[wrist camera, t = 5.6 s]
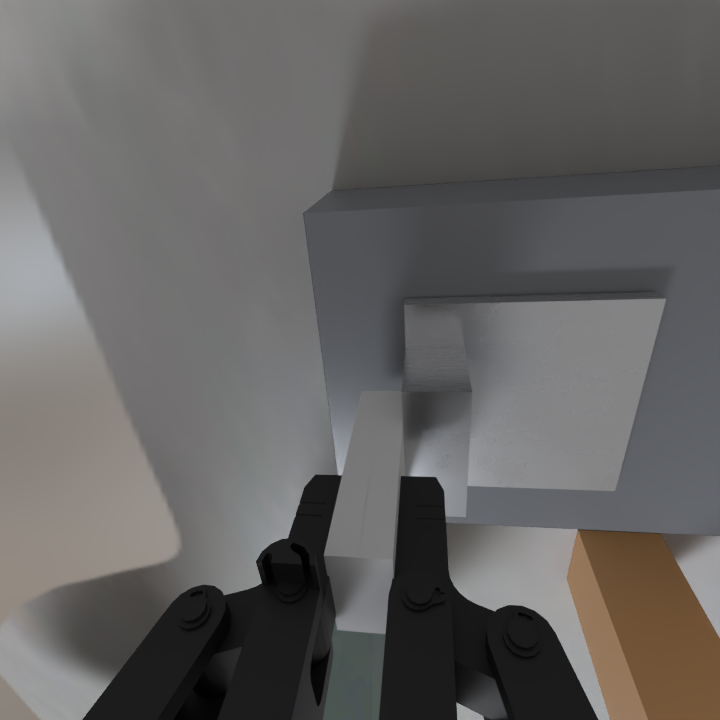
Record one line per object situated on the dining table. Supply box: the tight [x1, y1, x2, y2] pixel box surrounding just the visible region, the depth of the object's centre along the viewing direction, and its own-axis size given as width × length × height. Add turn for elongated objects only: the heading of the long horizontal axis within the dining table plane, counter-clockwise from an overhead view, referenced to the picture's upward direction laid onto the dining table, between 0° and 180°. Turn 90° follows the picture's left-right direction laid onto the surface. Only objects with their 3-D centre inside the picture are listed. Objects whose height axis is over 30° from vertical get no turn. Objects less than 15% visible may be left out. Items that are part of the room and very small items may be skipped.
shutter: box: [402, 292, 666, 517], centre depth 15 cm, size 8×8×4 cm
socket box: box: [303, 166, 720, 536], centre depth 18 cm, size 22×14×5 cm, turn 94°
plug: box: [567, 530, 720, 720], centre depth 21 cm, size 4×4×14 cm
